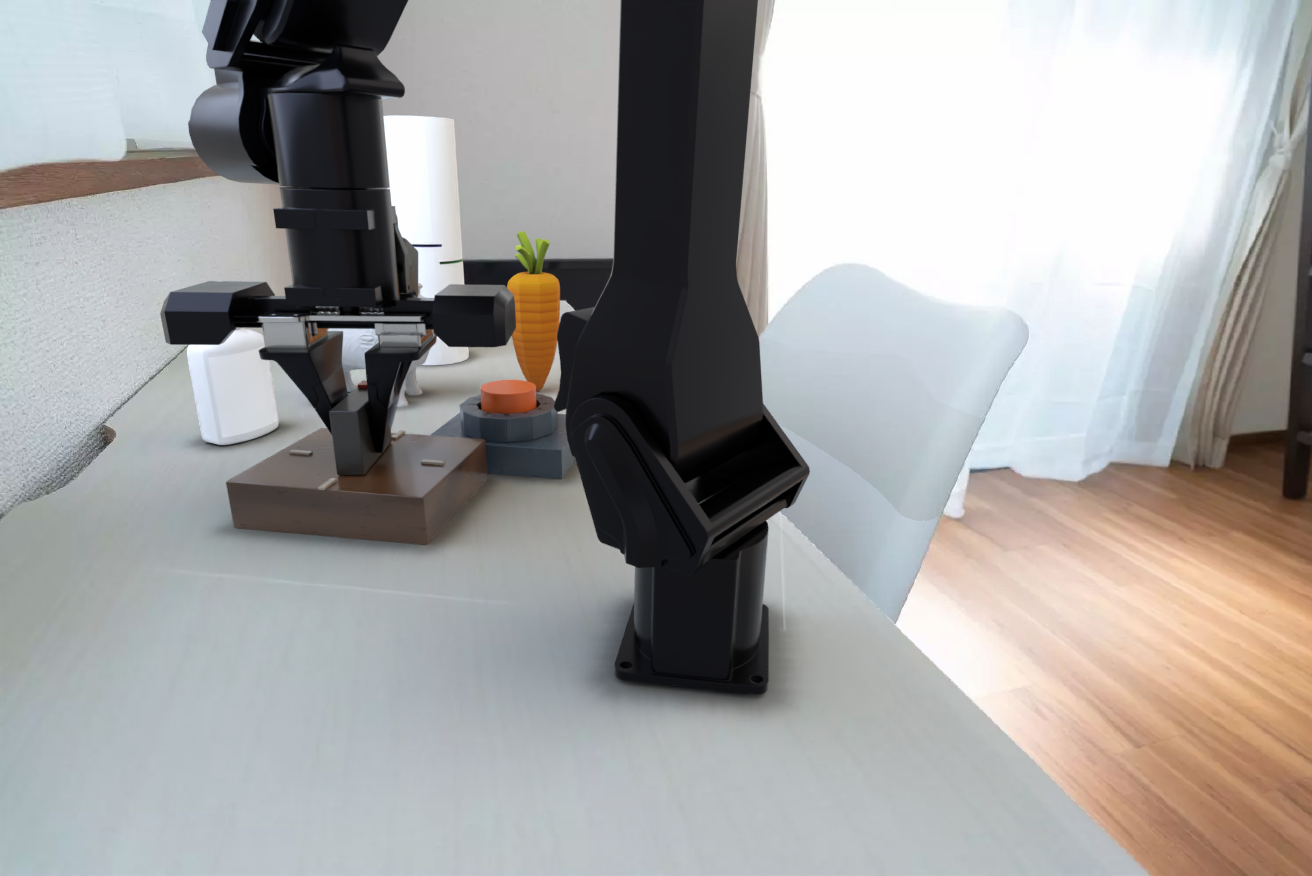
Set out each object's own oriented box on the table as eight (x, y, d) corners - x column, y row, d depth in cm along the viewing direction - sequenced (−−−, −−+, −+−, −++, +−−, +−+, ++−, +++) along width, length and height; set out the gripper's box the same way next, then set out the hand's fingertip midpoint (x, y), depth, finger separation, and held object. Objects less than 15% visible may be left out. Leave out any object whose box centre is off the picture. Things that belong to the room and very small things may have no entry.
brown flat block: (426, 546, 43) (421, 495, 42) (232, 529, 45) (223, 479, 43) (488, 479, 53) (486, 436, 52) (327, 466, 54) (321, 424, 53)
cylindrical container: (399, 353, 87) (377, 118, 79) (461, 348, 90) (447, 121, 82) (408, 367, 81) (385, 114, 73) (474, 362, 84) (460, 118, 76)
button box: (562, 479, 53) (560, 425, 51) (425, 469, 54) (421, 415, 53) (587, 441, 60) (587, 393, 59) (467, 433, 62) (464, 385, 60)
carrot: (568, 396, 72) (566, 234, 67) (517, 401, 70) (510, 234, 65) (555, 383, 76) (552, 229, 71) (506, 387, 75) (499, 230, 70)
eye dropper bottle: (287, 436, 60) (264, 282, 56) (206, 449, 57) (176, 288, 53) (275, 421, 63) (253, 276, 59) (198, 433, 60) (169, 280, 56)
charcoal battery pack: (364, 475, 45) (356, 407, 43) (336, 475, 45) (327, 407, 43) (392, 441, 50) (386, 379, 49) (367, 441, 50) (361, 379, 49)
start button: (527, 419, 54) (526, 395, 53) (473, 415, 54) (472, 392, 54) (542, 403, 58) (542, 381, 57) (492, 400, 58) (491, 378, 57)
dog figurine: (446, 410, 67) (438, 289, 64) (306, 404, 68) (290, 284, 64) (464, 393, 72) (457, 281, 69) (333, 388, 73) (320, 275, 69)
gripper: (520, 188, 50) (528, 412, 56) (230, 182, 49) (266, 411, 54) (498, 193, 40) (510, 468, 45) (128, 185, 39) (184, 469, 44)
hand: (365, 450), depth 47 cm, fingers closed on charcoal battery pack, 2 cm apart
